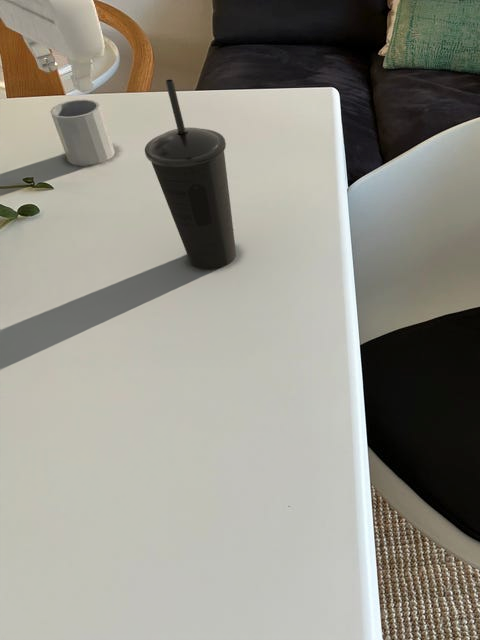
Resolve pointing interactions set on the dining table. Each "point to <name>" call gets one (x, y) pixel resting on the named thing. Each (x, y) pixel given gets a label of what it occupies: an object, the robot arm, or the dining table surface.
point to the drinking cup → (195, 189)
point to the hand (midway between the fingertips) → (66, 79)
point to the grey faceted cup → (83, 132)
